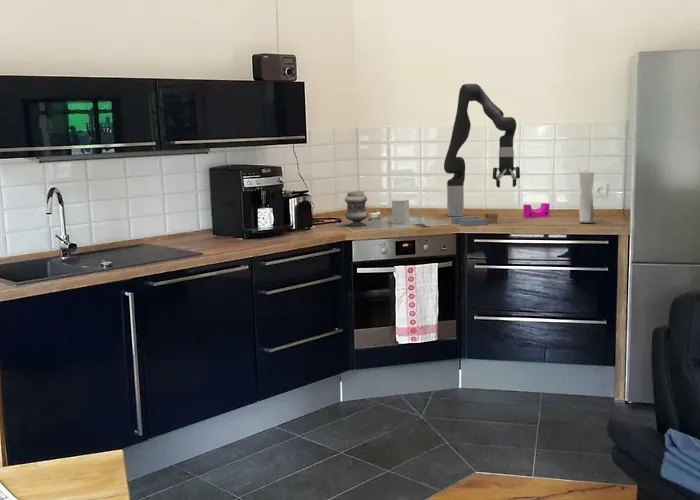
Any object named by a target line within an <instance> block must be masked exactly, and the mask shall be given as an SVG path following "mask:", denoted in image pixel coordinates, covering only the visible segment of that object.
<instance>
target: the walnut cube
mask: <svg viewBox="0 0 700 500" xmlns="http://www.w3.org/2000/svg"><path fill="white" fill-rule="evenodd" d="M485 218H486V219H488V225H489V224H491V225H492V224H498V213H496V212H489V213H488V212H487V213H484V219H485Z"/></svg>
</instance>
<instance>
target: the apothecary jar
mask: <svg viewBox="0 0 700 500" xmlns="http://www.w3.org/2000/svg"><path fill="white" fill-rule="evenodd" d="M367 201H368V197H367V196H366V195H365V193H364V191H363V190H361V191H360V190H357V191H356V190H355V191H354V190H353V191H348V192H347V195H346V196H345V197H344V202H346V207H347V208H346V209H347V210H346V211H347V212H346V213H345V214H344V216H345V218H346V219H347V220H349V221H352V222H351V223H349V224H347V226H348V227H351V228H353V227H355V228H359V227H361V228H362V227H366V226H367V224H365V223H364V222H362V221H363V220H366V219H367V218H368V217H369V213H368V212H367V210H366V202H367Z"/></svg>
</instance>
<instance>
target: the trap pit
mask: <svg viewBox="0 0 700 500" xmlns="http://www.w3.org/2000/svg"><path fill="white" fill-rule="evenodd" d="M426 225H427V224H426V223H413V224H412V223H411V224H410V226H414V227H416V226H417V228H419V229H432V228H436V227H435V226H432V225H429V226H426ZM431 226H432V227H431Z"/></svg>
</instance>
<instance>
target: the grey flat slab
mask: <svg viewBox="0 0 700 500" xmlns="http://www.w3.org/2000/svg"><path fill="white" fill-rule="evenodd" d="M450 217H451V224H454V225H455V224H459V226H461V227H468V226H469V227H472V226H488V225H489V224H488V219H486V218H485V217H484V218H479V216H476V215H475V216H474V215H473V216H450Z"/></svg>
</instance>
